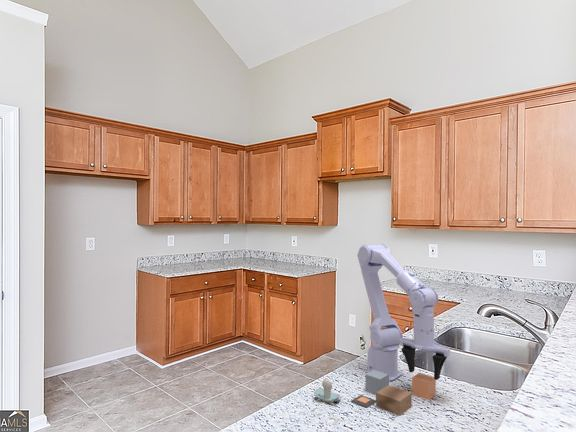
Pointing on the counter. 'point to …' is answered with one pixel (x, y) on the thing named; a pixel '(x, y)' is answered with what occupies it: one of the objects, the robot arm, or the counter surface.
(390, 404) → the walnut block
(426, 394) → the terracotta block
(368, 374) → the slate block
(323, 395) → the pacifier
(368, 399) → the card
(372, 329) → the robot arm
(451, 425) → the counter surface
